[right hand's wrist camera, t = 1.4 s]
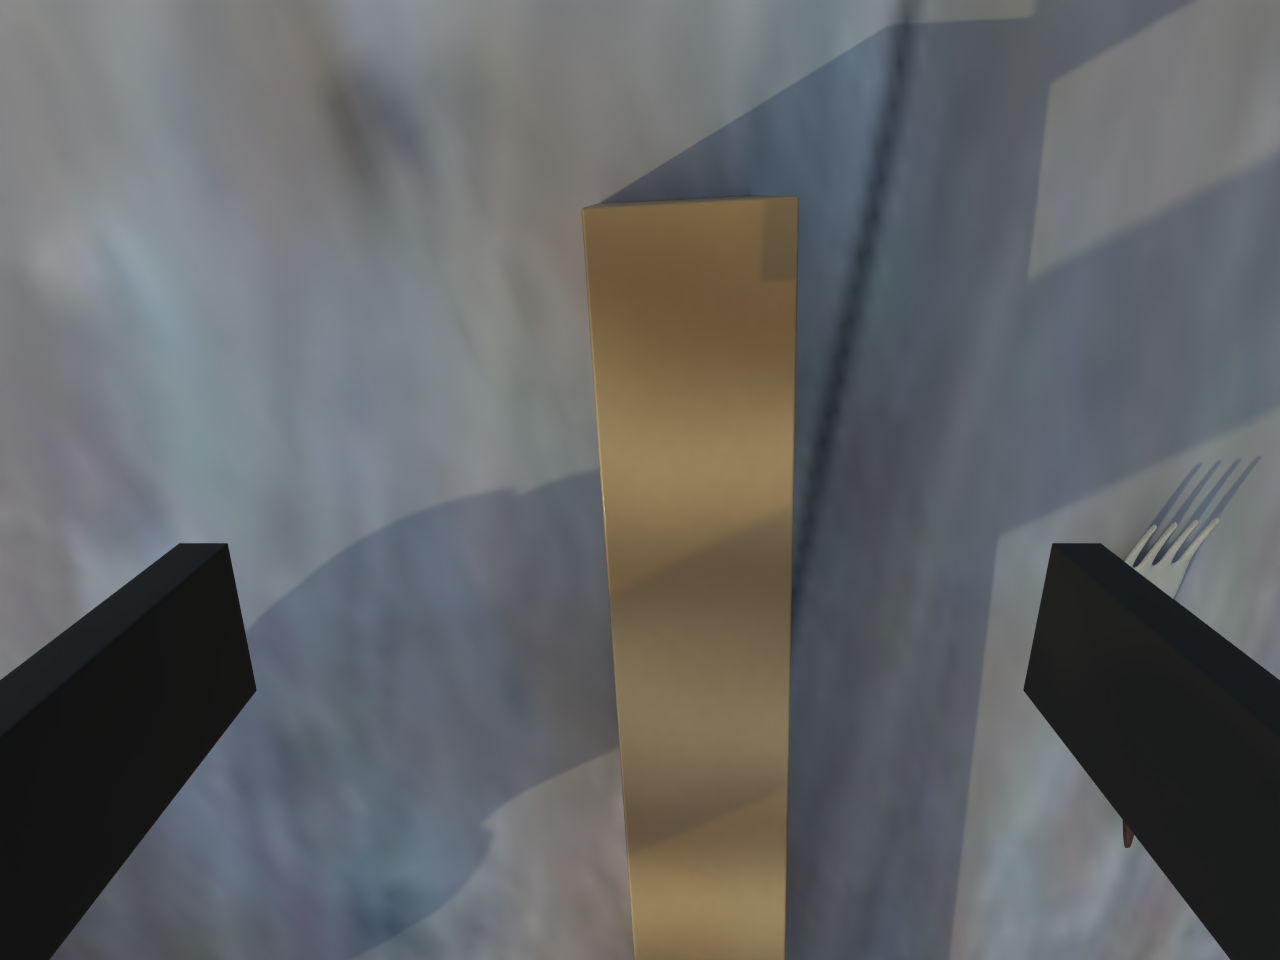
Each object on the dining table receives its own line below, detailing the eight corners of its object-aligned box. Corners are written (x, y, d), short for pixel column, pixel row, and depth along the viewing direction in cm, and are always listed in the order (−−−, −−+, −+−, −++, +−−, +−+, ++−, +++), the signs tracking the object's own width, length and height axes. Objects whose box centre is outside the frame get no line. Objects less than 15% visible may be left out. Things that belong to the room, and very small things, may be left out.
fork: (1089, 841, 34) (1115, 879, 32) (1116, 504, 29) (1148, 526, 27) (1150, 835, 34) (1180, 872, 32) (1188, 495, 29) (1226, 517, 27)
